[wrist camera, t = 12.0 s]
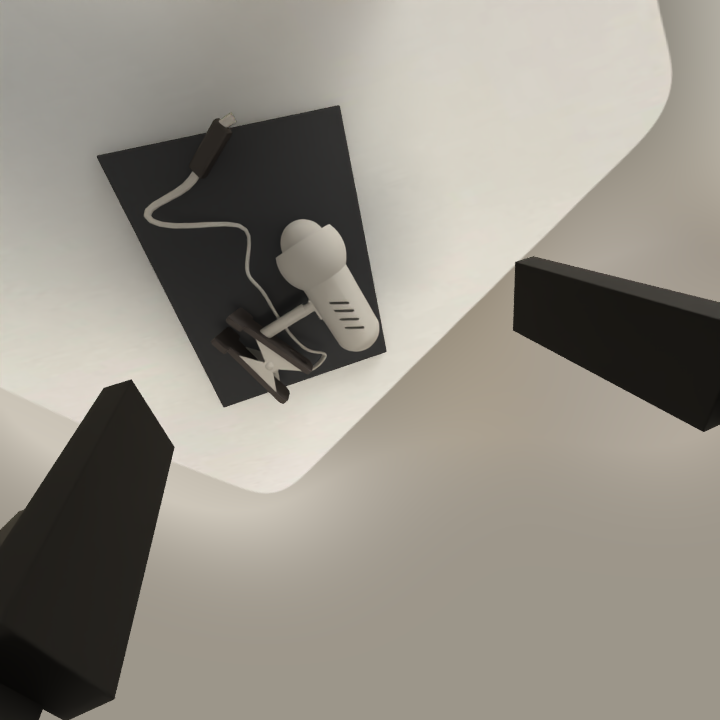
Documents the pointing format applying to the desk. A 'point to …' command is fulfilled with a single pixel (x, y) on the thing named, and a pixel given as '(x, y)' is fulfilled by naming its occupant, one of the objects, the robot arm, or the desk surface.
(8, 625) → the robot arm
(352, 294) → the clip-on lamp
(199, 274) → the desk mat
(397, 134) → the desk surface
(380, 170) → the desk surface
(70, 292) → the desk surface
